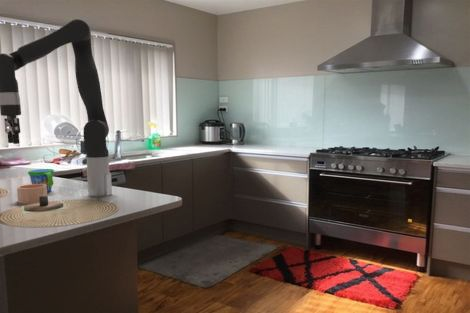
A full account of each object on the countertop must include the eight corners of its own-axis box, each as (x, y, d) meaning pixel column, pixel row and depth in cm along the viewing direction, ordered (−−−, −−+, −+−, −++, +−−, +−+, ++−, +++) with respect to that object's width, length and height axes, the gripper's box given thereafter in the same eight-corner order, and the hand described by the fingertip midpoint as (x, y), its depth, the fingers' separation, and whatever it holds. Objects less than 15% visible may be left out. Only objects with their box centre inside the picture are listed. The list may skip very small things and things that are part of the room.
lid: (69, 203, 165) (68, 192, 165) (52, 211, 152) (52, 200, 151) (36, 203, 166) (35, 192, 166) (16, 211, 153) (15, 199, 152)
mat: (67, 210, 156) (67, 208, 156) (23, 215, 149) (23, 213, 149) (62, 202, 169) (62, 201, 169) (21, 207, 162) (21, 205, 162)
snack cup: (24, 191, 194) (22, 169, 193) (46, 188, 202) (45, 167, 201) (37, 195, 184) (36, 173, 183) (61, 192, 191) (59, 170, 190)
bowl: (52, 199, 177) (51, 183, 176) (39, 204, 166) (38, 188, 165) (27, 199, 177) (26, 183, 177) (12, 204, 166) (11, 188, 166)
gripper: (24, 103, 167) (28, 143, 169) (15, 104, 178) (19, 142, 180) (4, 103, 163) (7, 144, 164) (-4, 104, 173) (-1, 143, 175)
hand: (13, 143), depth 172 cm, fingers open, 8 cm apart
